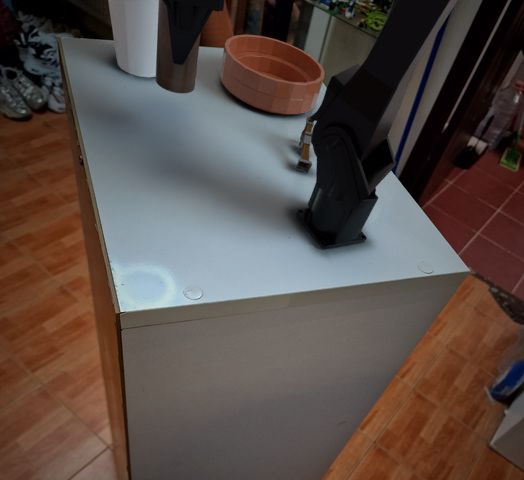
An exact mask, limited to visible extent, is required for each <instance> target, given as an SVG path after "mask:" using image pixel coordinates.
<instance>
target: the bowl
mask: <svg viewBox="0 0 524 480" xmlns="http://www.w3.org/2000/svg"><path fill="white" fill-rule="evenodd" d="M222 52H223V53H222V59H221V66H220V72H219V73H220V74H219V77H220V81H221V83H222V85H223V86H224V87H225V88H226V90H227V91H228V92H229V93H230V94H232V95H233V96H234V97H236V98H237V99H238V100H240V101H242V102H243V103H244V104H247V105H248V106H250V107H251V108H254V109H257V110H260V111H263V112H267V113H271V114H276V115H301V114H304V113H309V112H310V111H311V110H313V109H314V108H315V107H316V104H317V101H318V97H319V95H320V91H321V88H322V85H323V82H324V79H325V74H326V73H325V70H324V68H323V66H322V64H321V63H320V62H318V60H317V59H316V58H314V57H313V56H312V55H310V54H309V53H307V52H306V51H304V50H303V49H301V48H299V47H296V46H294V45H292V44H291V43H287V42H285V41H283V40H282V41H281V40H279V39H276V38H272V37H267V36H263V35H257V34H256V35H255V34H239V35H233V36H231V37H229V38H227V39H226V41H225V43H224V45H223V51H222Z"/></svg>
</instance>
